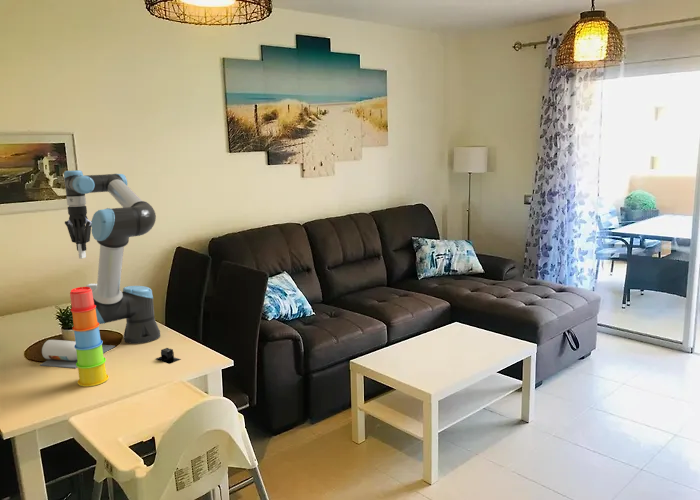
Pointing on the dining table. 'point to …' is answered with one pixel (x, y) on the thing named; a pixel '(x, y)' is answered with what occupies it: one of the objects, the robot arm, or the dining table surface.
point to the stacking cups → (87, 338)
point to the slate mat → (70, 363)
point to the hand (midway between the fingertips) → (82, 257)
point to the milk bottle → (59, 350)
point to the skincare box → (92, 286)
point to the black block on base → (167, 356)
